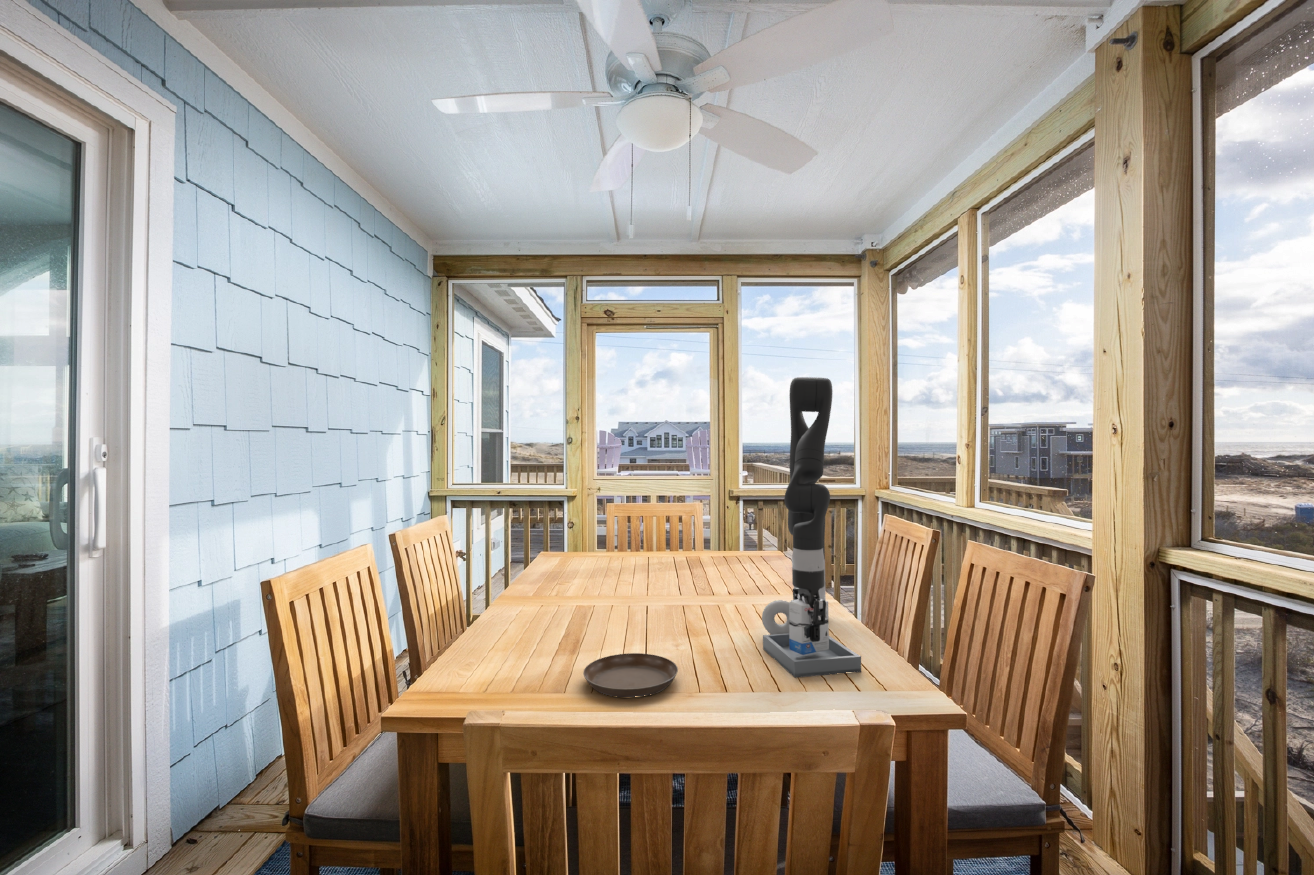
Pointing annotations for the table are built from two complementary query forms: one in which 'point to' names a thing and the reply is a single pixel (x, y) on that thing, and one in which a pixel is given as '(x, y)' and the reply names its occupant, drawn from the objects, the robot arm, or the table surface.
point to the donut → (769, 616)
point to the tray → (811, 657)
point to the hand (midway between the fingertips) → (809, 636)
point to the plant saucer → (630, 674)
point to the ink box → (805, 629)
